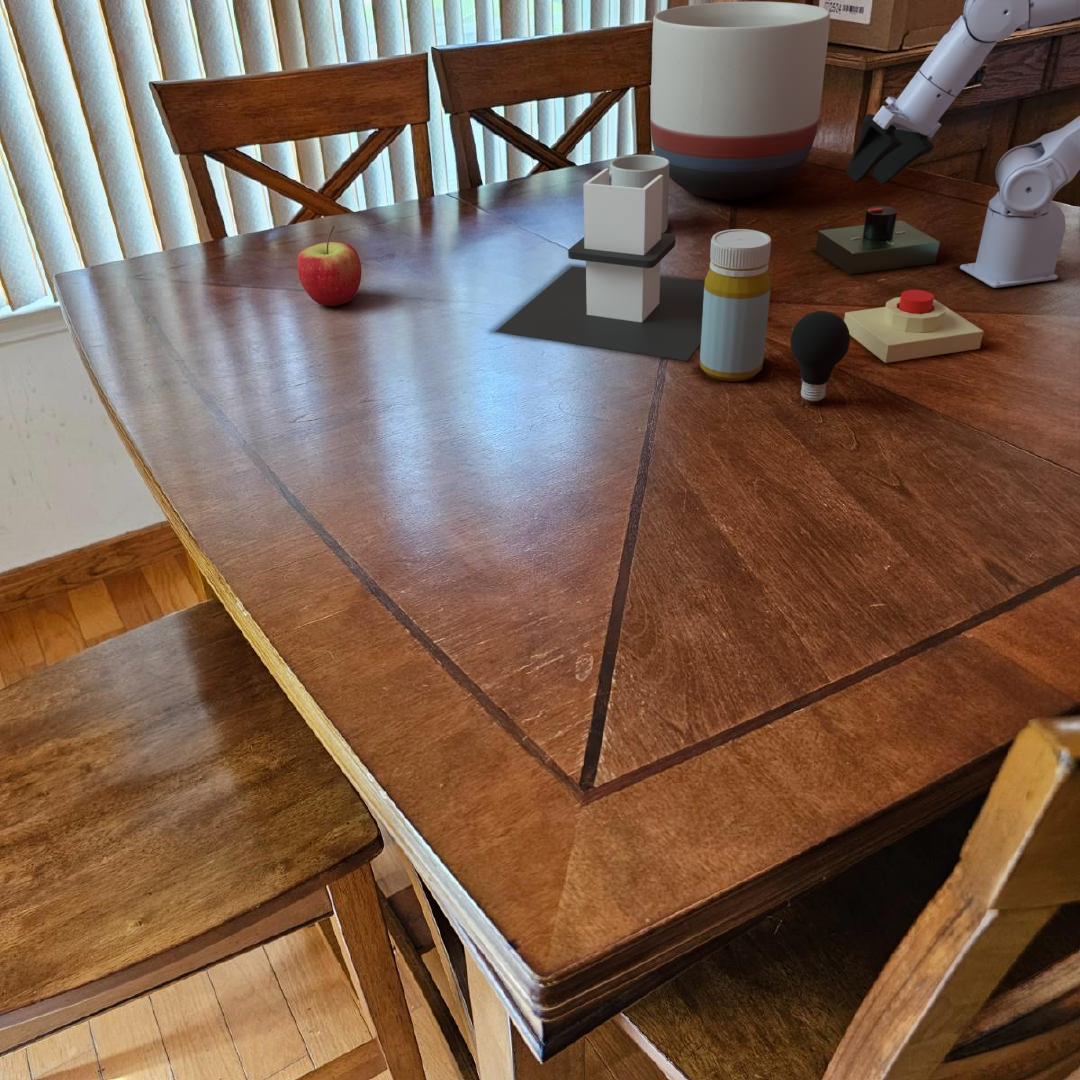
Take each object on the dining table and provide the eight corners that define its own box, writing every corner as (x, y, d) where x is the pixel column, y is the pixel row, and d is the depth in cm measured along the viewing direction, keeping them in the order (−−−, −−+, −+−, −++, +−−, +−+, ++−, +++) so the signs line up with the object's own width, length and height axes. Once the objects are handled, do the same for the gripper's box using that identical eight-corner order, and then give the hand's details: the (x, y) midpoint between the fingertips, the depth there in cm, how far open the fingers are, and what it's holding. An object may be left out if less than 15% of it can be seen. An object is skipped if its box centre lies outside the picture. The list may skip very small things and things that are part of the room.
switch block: (931, 316, 122) (937, 285, 119) (979, 348, 114) (987, 316, 111) (842, 329, 119) (847, 297, 117) (885, 363, 111) (891, 330, 109)
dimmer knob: (883, 229, 139) (887, 202, 137) (898, 238, 136) (903, 210, 134) (857, 233, 138) (861, 205, 136) (872, 241, 135) (876, 214, 133)
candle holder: (743, 287, 132) (753, 160, 122) (687, 360, 114) (694, 219, 105) (572, 266, 141) (569, 146, 131) (495, 331, 123) (485, 198, 114)
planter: (831, 180, 170) (854, 4, 154) (776, 226, 151) (796, 31, 136) (688, 164, 182) (695, -1, 166) (621, 205, 163) (622, 23, 148)
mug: (677, 224, 154) (679, 158, 148) (649, 242, 148) (650, 174, 142) (616, 215, 159) (616, 150, 153) (586, 232, 153) (585, 166, 147)
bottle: (766, 360, 113) (779, 230, 105) (756, 386, 108) (769, 252, 99) (706, 353, 115) (714, 225, 107) (693, 379, 110) (701, 247, 101)
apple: (379, 299, 133) (368, 226, 128) (328, 319, 128) (315, 243, 123) (341, 286, 138) (330, 214, 132) (291, 304, 133) (277, 231, 127)
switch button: (920, 302, 116) (923, 287, 115) (937, 313, 113) (940, 298, 112) (892, 306, 116) (895, 291, 115) (909, 317, 113) (911, 303, 112)
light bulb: (841, 417, 102) (855, 326, 96) (783, 413, 103) (793, 323, 97) (839, 391, 106) (852, 303, 101) (783, 388, 108) (793, 300, 102)
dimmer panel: (897, 240, 144) (901, 219, 142) (935, 263, 136) (940, 240, 134) (815, 251, 142) (818, 229, 140) (849, 274, 134) (853, 252, 132)
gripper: (938, 71, 127) (868, 163, 136) (889, 56, 117) (818, 156, 126) (977, 103, 125) (904, 195, 134) (931, 91, 115) (856, 191, 123)
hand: (865, 178), depth 130 cm, fingers open, 7 cm apart
